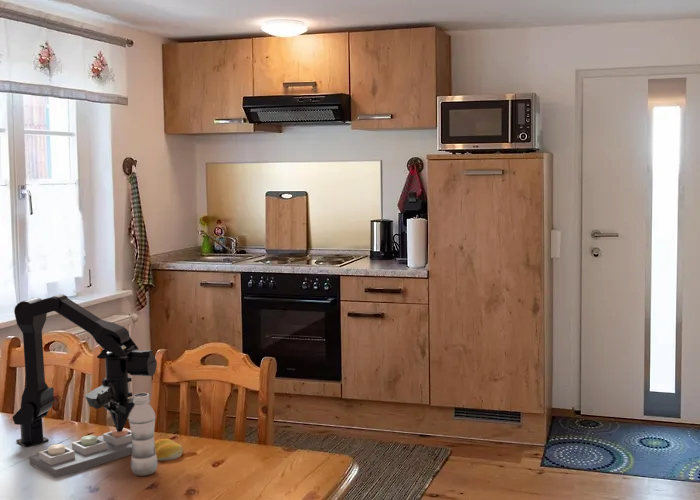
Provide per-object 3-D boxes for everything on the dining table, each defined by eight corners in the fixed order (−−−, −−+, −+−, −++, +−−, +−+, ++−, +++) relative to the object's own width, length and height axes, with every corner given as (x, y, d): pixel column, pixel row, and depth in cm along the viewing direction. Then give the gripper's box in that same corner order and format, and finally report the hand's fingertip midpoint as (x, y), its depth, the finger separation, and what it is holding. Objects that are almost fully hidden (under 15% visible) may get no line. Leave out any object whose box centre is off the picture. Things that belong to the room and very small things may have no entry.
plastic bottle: (163, 470, 207) (160, 392, 205) (148, 480, 201) (144, 399, 199) (141, 467, 209) (137, 389, 207) (125, 477, 203) (121, 397, 201)
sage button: (78, 444, 217) (78, 438, 217) (92, 440, 220) (92, 434, 220) (86, 447, 214) (85, 441, 214) (100, 443, 217) (99, 437, 217)
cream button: (45, 453, 211) (45, 447, 210) (60, 449, 213) (60, 443, 213) (53, 457, 208) (52, 450, 208) (68, 453, 211) (67, 446, 210)
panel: (29, 463, 213) (28, 449, 212) (119, 437, 232) (119, 424, 231) (56, 477, 203) (55, 462, 203) (147, 449, 222) (147, 435, 222)
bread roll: (161, 464, 212) (160, 449, 211) (144, 454, 219) (143, 440, 218) (189, 456, 217) (189, 441, 217) (172, 447, 224) (172, 432, 224)
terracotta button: (109, 437, 224) (109, 431, 223) (122, 433, 226) (122, 427, 226) (117, 440, 221) (117, 434, 221) (130, 437, 224) (130, 430, 223)
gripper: (71, 374, 222) (74, 431, 224) (108, 387, 209) (111, 447, 211) (108, 366, 230) (111, 421, 232) (146, 378, 217) (148, 436, 219)
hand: (119, 431), depth 223 cm, fingers closed, pressing on terracotta button
